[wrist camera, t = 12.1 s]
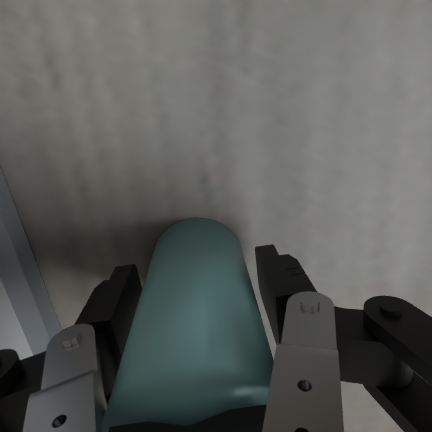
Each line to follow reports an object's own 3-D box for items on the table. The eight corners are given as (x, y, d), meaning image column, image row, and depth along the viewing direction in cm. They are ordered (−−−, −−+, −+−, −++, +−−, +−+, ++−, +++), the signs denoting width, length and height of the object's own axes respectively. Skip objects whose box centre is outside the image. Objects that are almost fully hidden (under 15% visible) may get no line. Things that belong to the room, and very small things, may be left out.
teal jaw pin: (144, 225, 14) (77, 380, 6) (237, 211, 14) (285, 350, 6) (162, 303, 15) (126, 508, 7) (246, 291, 15) (295, 483, 7)
